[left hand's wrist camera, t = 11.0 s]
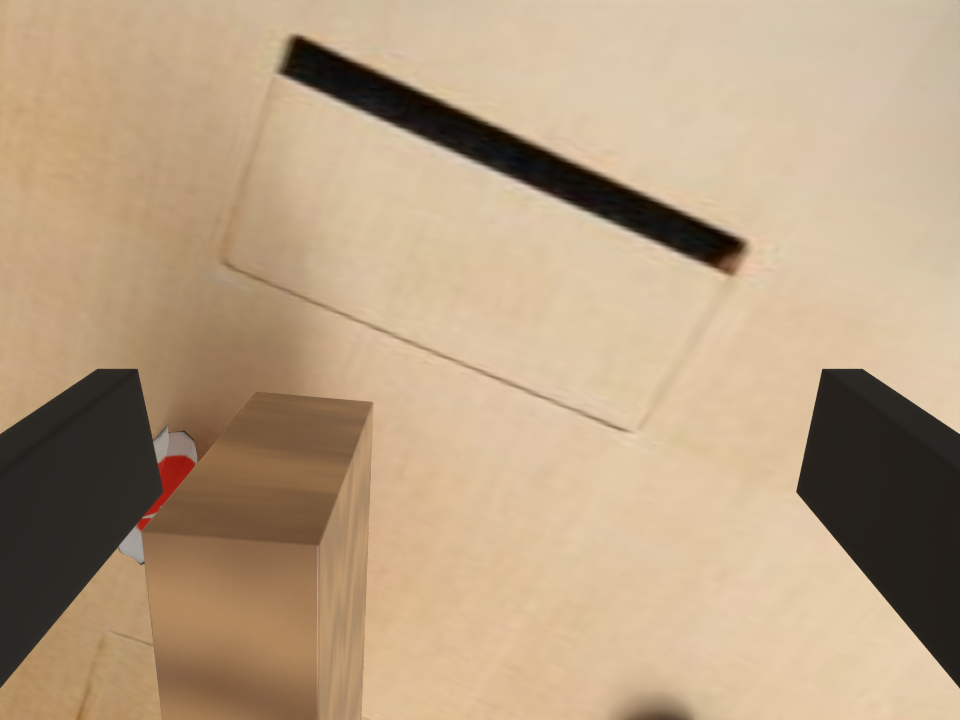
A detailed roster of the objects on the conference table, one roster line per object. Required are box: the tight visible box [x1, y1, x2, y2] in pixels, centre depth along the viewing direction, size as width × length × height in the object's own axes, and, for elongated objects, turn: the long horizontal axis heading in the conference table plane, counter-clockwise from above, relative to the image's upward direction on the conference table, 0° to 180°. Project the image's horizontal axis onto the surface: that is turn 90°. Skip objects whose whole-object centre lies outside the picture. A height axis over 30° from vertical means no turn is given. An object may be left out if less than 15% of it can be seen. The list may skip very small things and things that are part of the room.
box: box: [141, 392, 373, 720], centre depth 32 cm, size 26×6×12 cm, turn 174°
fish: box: [117, 425, 197, 565], centre depth 45 cm, size 11×16×10 cm
